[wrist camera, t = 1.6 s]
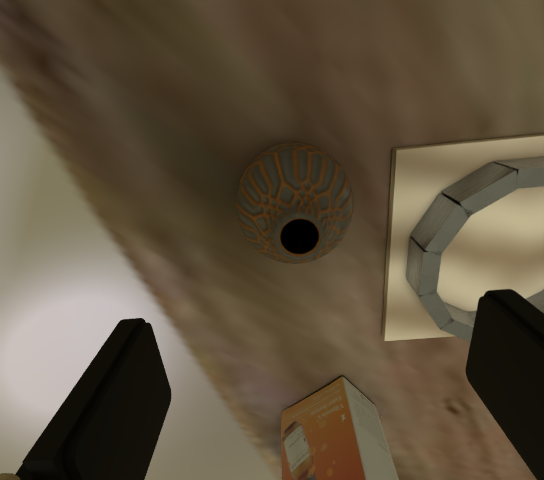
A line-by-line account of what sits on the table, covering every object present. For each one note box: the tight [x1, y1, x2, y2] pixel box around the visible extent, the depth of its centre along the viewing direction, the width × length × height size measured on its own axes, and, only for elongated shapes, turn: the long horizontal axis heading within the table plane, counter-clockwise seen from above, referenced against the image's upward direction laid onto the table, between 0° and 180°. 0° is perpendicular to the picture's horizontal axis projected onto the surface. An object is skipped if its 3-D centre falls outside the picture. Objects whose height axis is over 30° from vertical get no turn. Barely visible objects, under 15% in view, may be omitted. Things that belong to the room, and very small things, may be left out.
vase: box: [236, 142, 353, 264], centre depth 19 cm, size 7×7×9 cm
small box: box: [281, 376, 399, 480], centre depth 28 cm, size 8×6×10 cm
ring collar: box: [406, 156, 544, 342], centre depth 23 cm, size 13×13×2 cm
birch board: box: [382, 133, 544, 341], centre depth 24 cm, size 16×16×1 cm
